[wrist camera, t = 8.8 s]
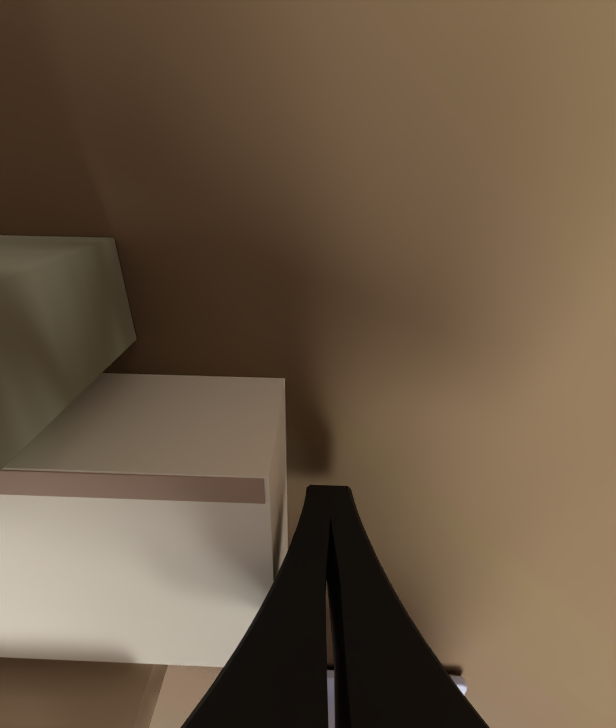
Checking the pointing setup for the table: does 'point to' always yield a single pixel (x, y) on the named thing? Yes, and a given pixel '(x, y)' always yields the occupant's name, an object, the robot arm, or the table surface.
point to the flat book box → (145, 521)
